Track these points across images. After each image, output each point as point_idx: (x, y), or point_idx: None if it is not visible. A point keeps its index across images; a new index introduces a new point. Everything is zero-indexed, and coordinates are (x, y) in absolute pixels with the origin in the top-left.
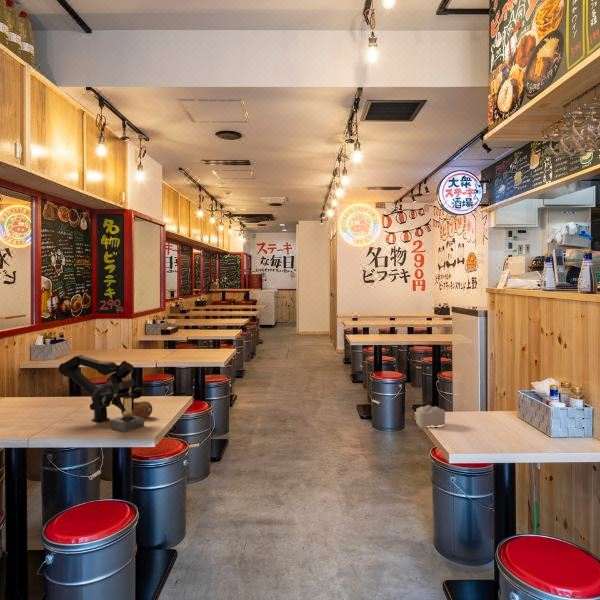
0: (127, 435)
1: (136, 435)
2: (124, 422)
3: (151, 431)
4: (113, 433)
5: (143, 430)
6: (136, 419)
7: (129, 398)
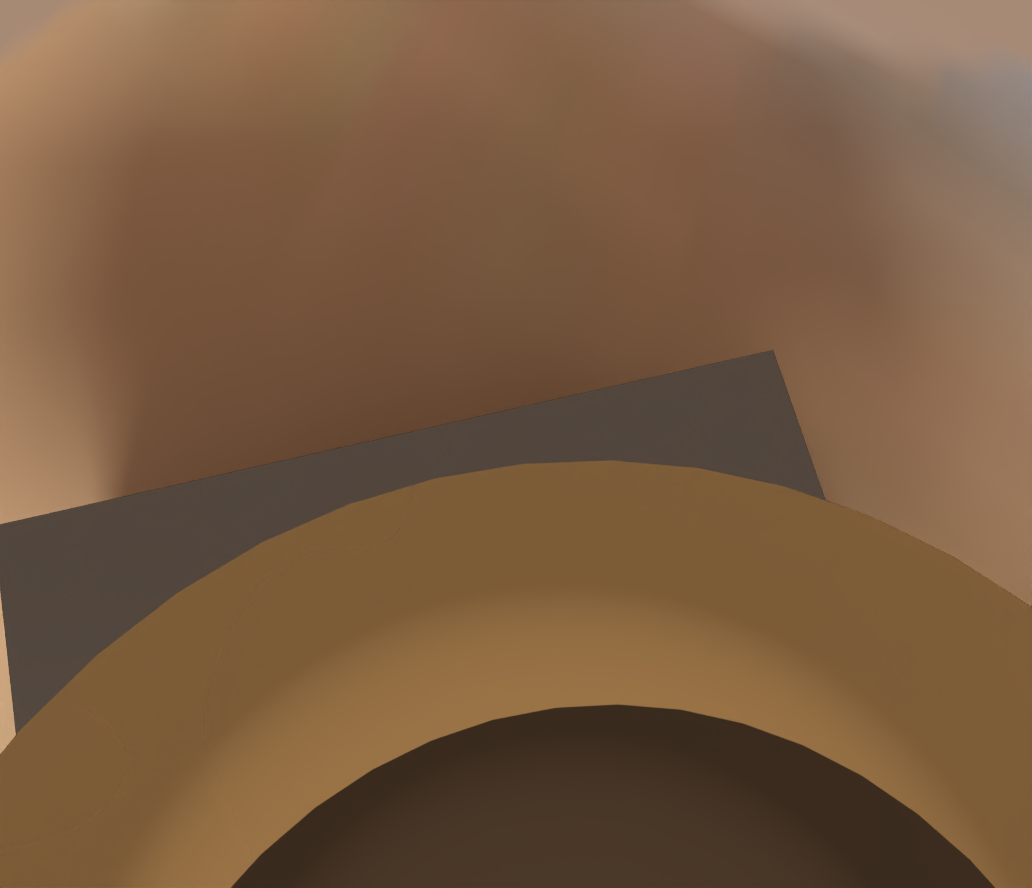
0: (728, 176)
1: (572, 55)
2: (738, 465)
3: (200, 77)
4: (962, 526)
5: (300, 256)
6: (290, 520)
7: (419, 634)
